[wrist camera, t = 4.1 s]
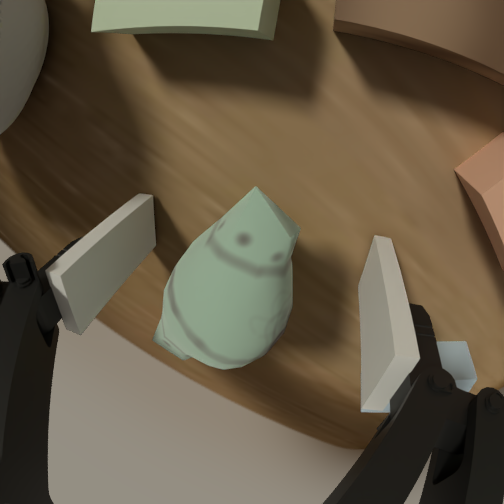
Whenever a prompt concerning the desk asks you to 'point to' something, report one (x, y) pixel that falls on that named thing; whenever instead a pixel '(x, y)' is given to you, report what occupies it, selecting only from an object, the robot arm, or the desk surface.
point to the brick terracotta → (487, 189)
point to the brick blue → (453, 366)
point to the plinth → (433, 29)
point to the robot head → (232, 287)
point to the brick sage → (187, 17)
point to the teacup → (20, 53)
